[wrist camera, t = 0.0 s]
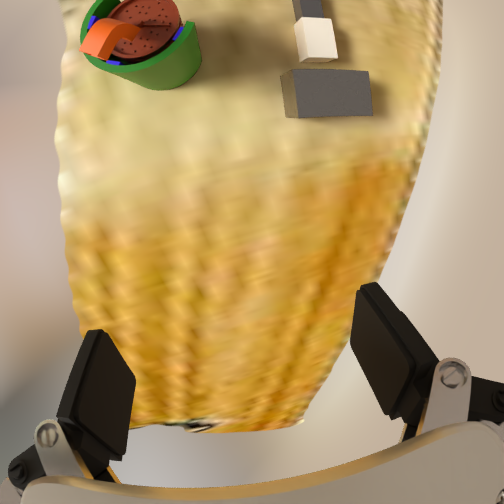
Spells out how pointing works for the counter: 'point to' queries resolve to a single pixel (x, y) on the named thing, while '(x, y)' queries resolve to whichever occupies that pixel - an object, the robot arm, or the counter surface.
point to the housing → (326, 93)
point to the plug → (313, 32)
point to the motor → (141, 42)
